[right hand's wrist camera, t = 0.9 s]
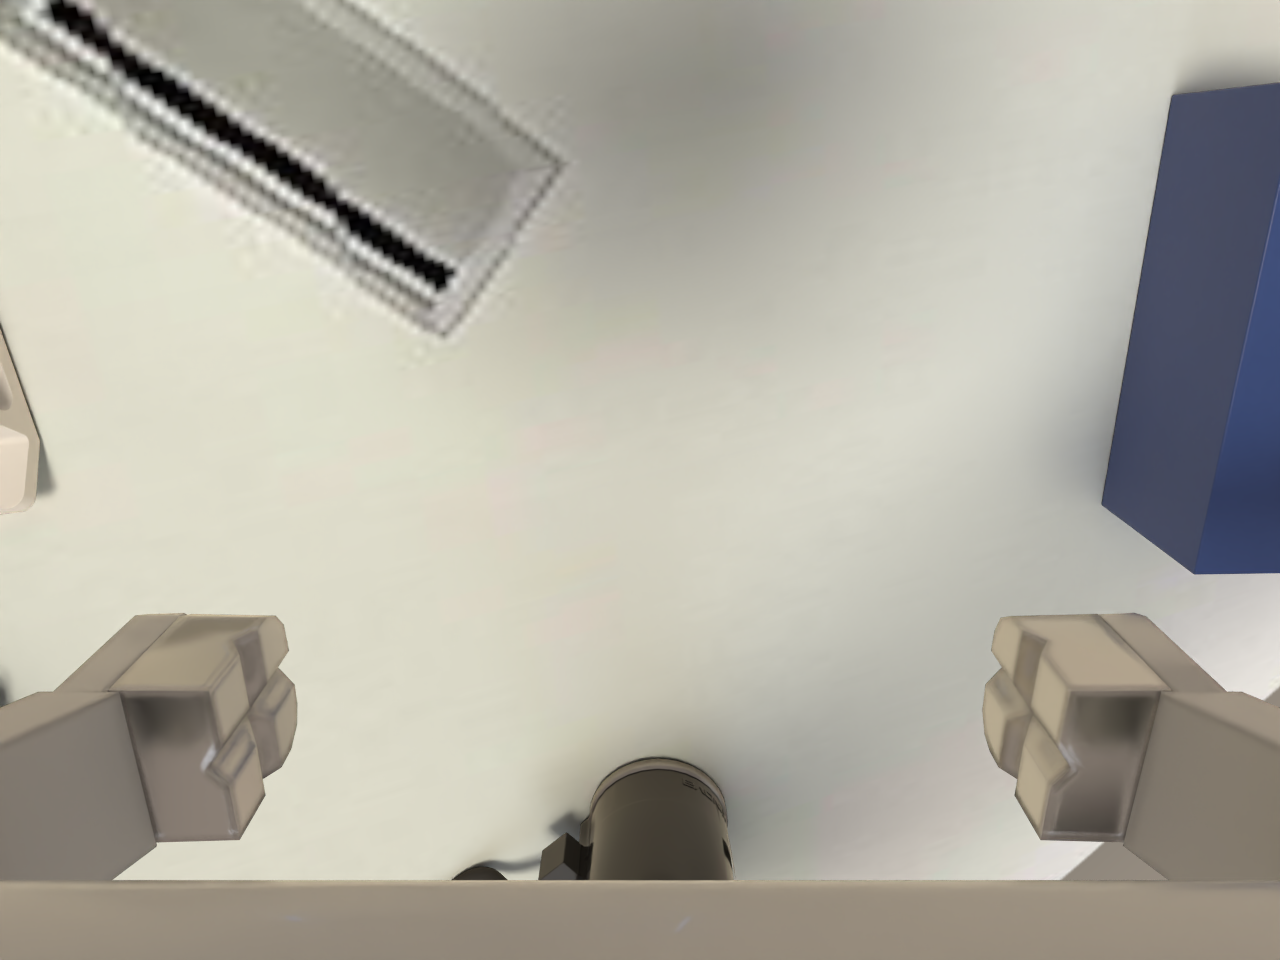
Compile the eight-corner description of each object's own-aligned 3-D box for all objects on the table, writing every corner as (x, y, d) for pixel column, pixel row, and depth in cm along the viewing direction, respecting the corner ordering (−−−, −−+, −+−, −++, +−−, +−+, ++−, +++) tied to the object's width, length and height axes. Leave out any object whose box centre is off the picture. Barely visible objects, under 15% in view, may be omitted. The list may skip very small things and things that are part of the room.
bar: (1171, 94, 46) (1301, 79, 37) (1279, 92, 46) (1435, 77, 37) (1101, 505, 54) (1193, 575, 45) (1193, 503, 54) (1304, 573, 45)
